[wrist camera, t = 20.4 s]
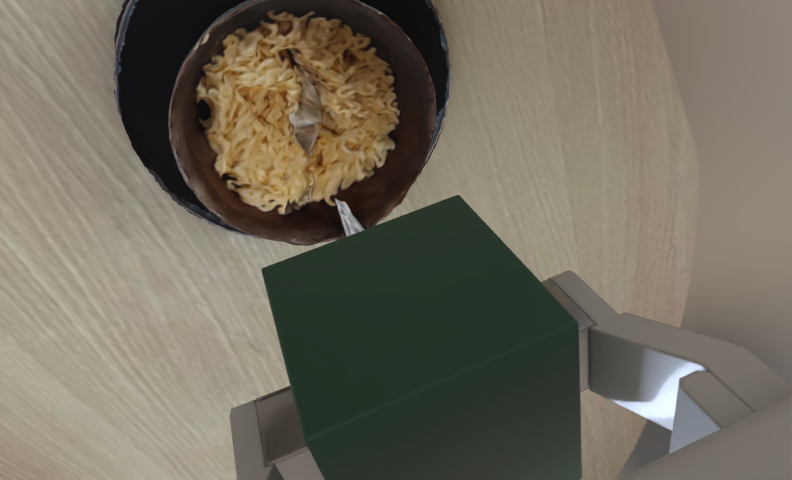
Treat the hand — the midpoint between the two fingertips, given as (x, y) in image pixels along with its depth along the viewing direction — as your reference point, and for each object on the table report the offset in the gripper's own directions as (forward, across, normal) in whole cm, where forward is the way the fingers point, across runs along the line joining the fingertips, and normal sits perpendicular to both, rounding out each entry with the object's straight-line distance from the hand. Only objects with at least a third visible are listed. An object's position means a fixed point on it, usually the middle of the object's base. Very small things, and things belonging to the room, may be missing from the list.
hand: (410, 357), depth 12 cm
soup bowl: (+19, -1, +1) cm, 19 cm away
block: (+2, 0, 0) cm, 2 cm away
